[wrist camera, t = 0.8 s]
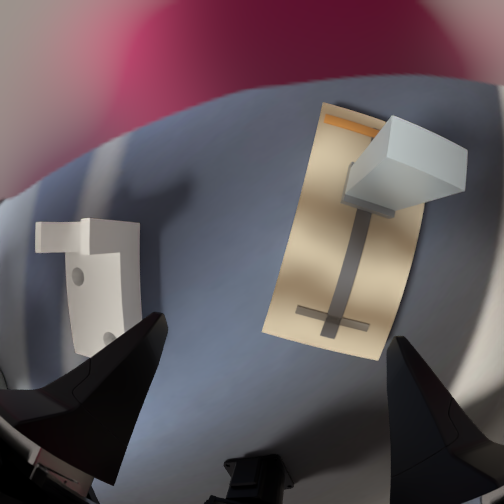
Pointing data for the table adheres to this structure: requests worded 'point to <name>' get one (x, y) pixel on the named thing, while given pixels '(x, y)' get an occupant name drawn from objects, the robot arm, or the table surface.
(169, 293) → the table surface
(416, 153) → the fader tab
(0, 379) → the lamp
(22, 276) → the table surface
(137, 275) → the bracket
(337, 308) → the slider board
